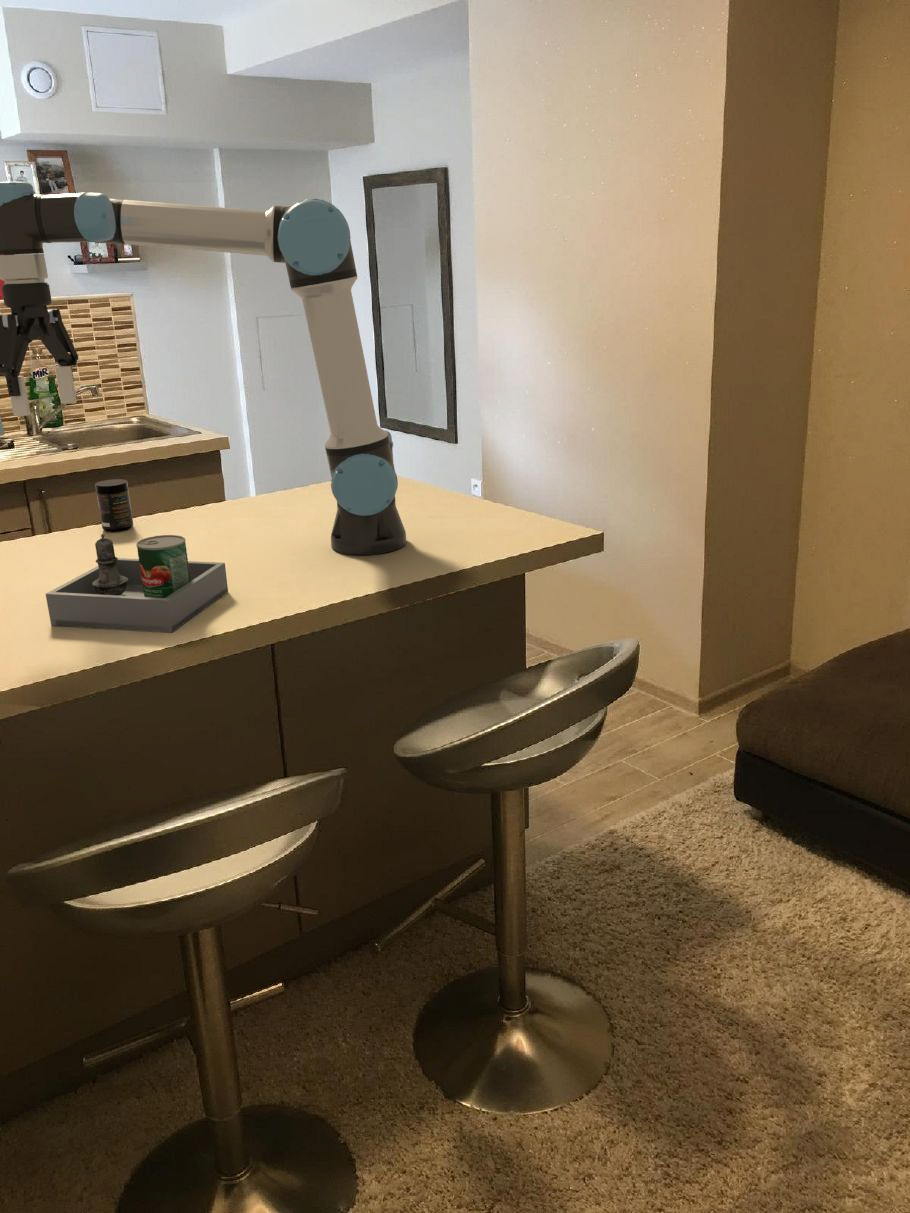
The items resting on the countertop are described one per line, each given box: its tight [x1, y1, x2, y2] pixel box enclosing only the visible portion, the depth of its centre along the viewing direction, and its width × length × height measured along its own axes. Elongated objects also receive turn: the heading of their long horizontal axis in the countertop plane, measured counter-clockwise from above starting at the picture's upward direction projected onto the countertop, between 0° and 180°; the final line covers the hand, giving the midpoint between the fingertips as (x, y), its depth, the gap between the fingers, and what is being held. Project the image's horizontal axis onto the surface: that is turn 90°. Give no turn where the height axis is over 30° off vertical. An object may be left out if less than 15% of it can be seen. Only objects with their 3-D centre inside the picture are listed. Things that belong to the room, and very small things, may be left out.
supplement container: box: [94, 478, 134, 533], centre depth 222 cm, size 7×7×10 cm
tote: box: [45, 557, 229, 634], centre depth 172 cm, size 22×20×6 cm
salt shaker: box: [92, 533, 128, 596], centre depth 172 cm, size 6×6×12 cm
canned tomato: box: [136, 534, 191, 598], centre depth 169 cm, size 8×8×11 cm
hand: (46, 409), depth 177 cm, fingers open, 13 cm apart
